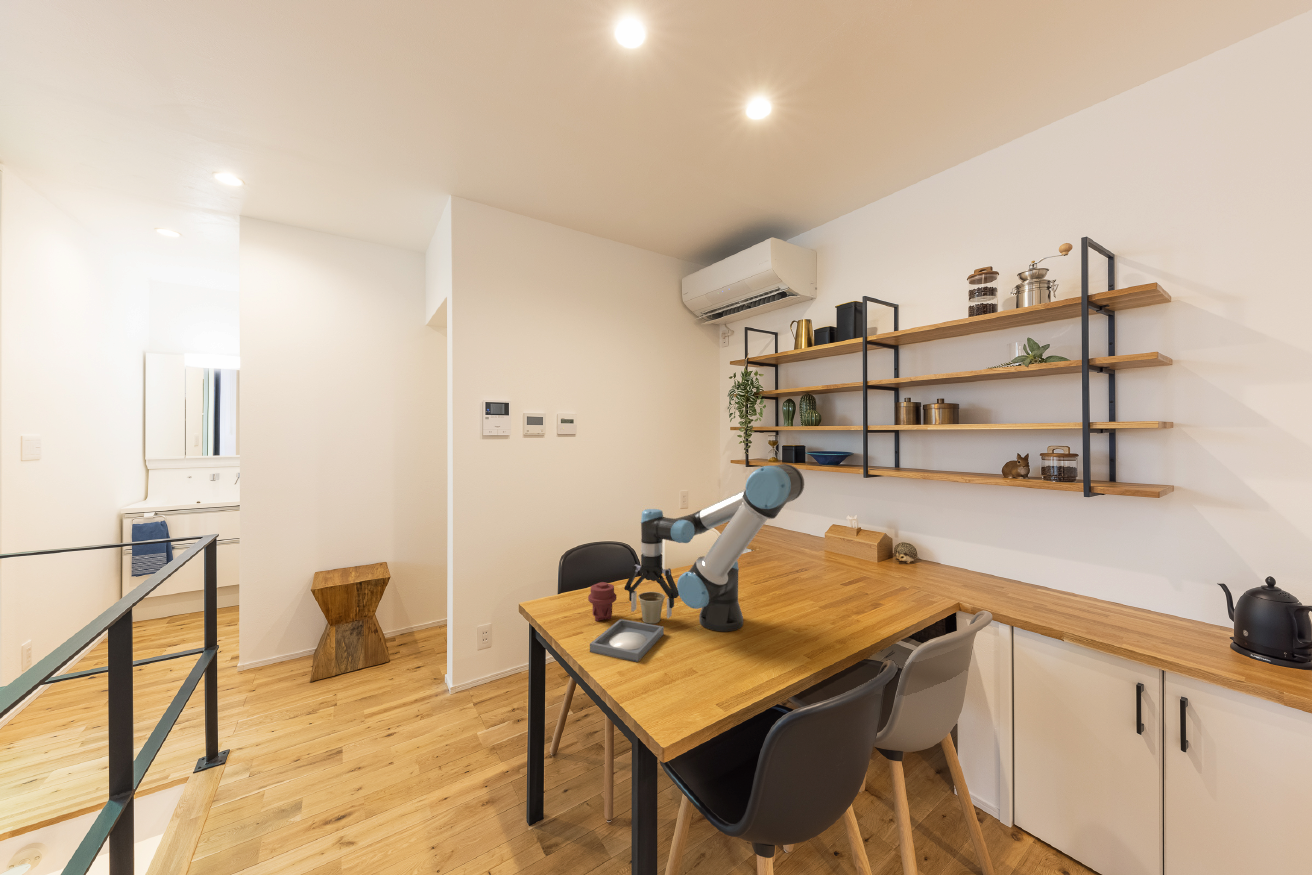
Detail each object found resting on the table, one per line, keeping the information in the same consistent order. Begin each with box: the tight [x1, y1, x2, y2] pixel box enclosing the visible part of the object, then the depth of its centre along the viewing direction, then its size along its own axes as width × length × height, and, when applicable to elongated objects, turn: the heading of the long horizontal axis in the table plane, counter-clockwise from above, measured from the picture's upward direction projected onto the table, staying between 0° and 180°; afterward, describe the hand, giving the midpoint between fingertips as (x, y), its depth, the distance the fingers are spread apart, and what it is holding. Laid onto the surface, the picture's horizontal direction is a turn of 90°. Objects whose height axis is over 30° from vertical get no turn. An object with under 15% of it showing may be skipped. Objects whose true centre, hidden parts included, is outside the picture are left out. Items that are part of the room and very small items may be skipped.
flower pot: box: [638, 591, 666, 625], centre depth 163 cm, size 9×9×9 cm
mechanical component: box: [588, 581, 617, 622], centre depth 165 cm, size 12×10×10 cm
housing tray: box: [589, 618, 665, 663], centre depth 146 cm, size 16×20×2 cm
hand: (651, 613), depth 163 cm, fingers open, 13 cm apart
